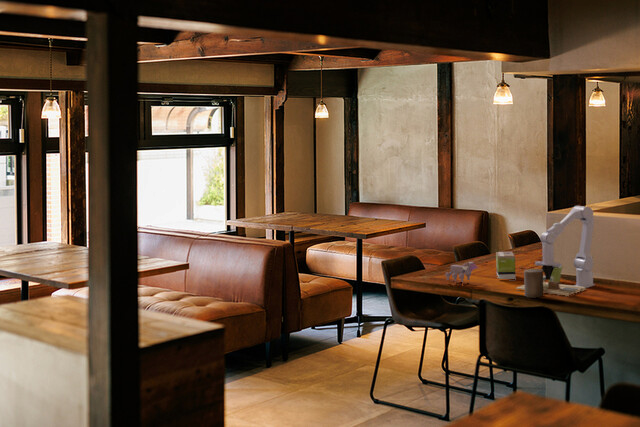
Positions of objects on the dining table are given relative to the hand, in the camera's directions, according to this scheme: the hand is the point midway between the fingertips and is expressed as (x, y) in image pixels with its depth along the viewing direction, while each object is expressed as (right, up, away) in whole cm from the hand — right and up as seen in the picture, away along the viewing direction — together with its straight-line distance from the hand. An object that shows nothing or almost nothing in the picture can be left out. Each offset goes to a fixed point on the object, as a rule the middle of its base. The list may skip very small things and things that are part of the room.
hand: (548, 279), depth 429 cm
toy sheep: (-41, -5, +26) cm, 49 cm away
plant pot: (+10, -3, +23) cm, 26 cm away
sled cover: (-3, -4, +4) cm, 7 cm away
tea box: (-14, -3, +39) cm, 41 cm away
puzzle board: (+2, -6, +2) cm, 6 cm away
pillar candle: (-11, -8, -11) cm, 17 cm away
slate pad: (+9, -5, -7) cm, 12 cm away
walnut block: (+3, -6, -2) cm, 7 cm away
